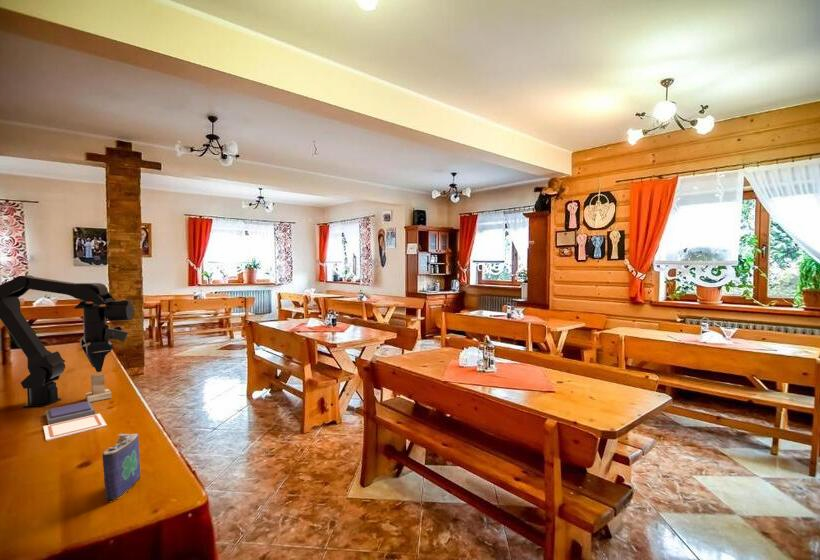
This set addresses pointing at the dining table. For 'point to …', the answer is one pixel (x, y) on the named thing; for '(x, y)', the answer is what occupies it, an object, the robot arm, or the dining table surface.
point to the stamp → (98, 389)
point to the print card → (73, 426)
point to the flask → (121, 466)
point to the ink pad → (69, 412)
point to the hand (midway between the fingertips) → (96, 369)
